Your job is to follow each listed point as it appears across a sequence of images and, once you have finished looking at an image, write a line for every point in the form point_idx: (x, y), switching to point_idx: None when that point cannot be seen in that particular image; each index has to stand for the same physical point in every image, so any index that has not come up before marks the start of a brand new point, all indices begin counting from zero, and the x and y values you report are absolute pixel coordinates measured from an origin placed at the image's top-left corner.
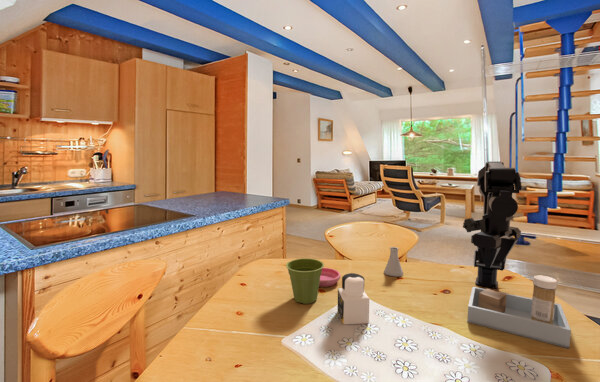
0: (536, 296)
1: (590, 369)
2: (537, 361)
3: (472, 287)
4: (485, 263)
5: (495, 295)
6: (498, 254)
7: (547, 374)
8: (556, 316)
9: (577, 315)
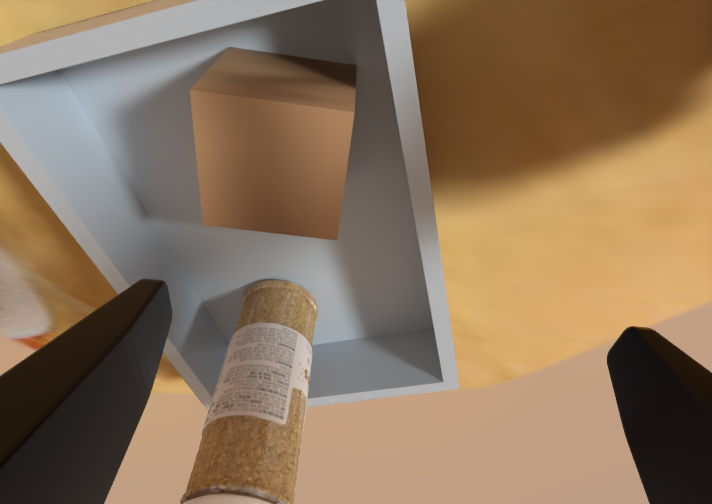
0: (203, 436)
1: (162, 389)
2: (49, 311)
3: None
4: (92, 326)
5: (255, 194)
6: (694, 399)
7: (11, 334)
8: (425, 340)
9: (545, 359)
